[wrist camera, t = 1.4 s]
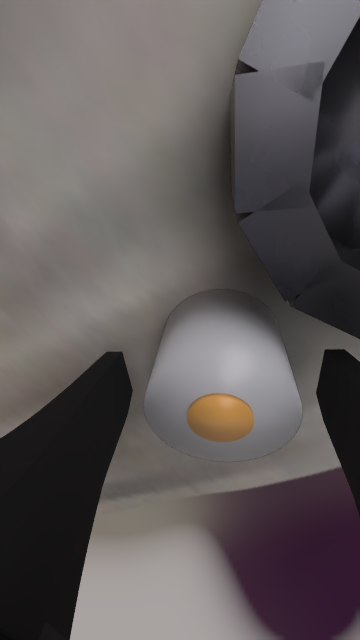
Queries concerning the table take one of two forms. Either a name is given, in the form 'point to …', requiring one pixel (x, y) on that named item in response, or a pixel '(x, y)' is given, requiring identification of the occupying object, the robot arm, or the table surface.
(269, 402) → the boiled egg half
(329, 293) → the dark grey round ring
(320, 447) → the table surface
